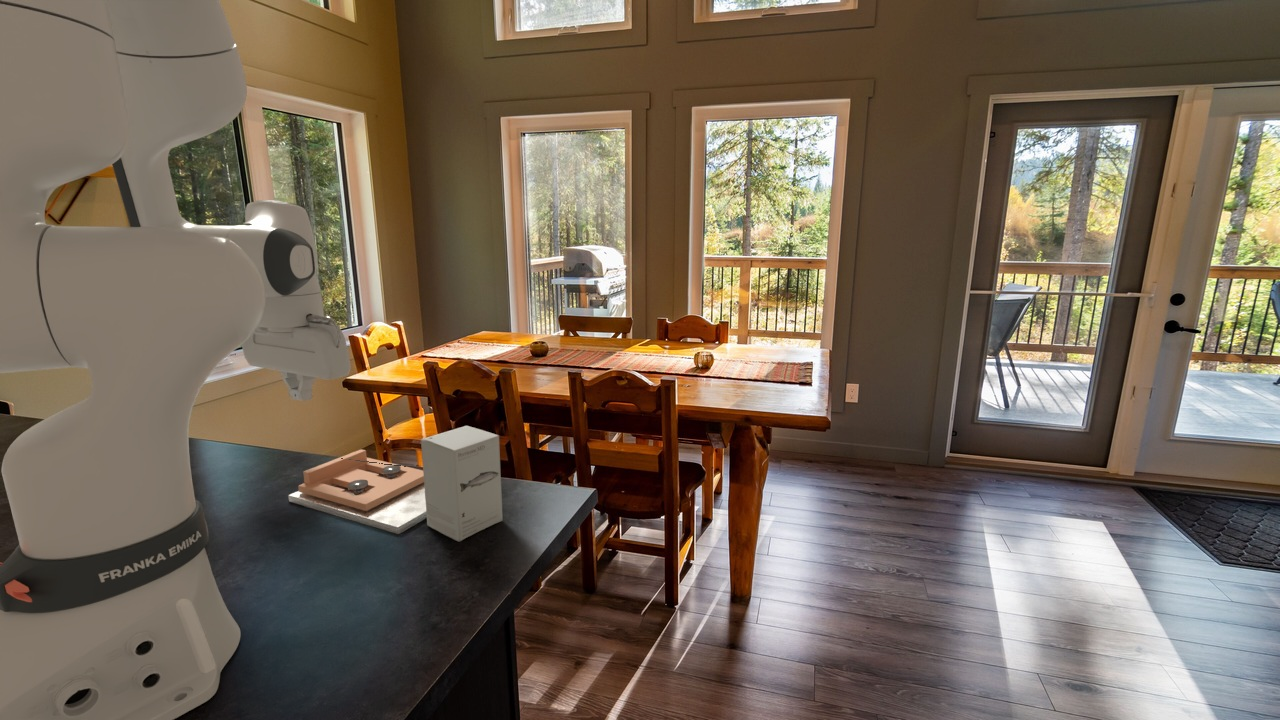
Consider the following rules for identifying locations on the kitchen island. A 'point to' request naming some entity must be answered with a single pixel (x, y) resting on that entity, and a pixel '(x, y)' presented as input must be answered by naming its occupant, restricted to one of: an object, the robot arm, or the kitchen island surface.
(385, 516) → the boss plate
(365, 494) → the panel
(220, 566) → the kitchen island surface
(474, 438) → the supplement box
